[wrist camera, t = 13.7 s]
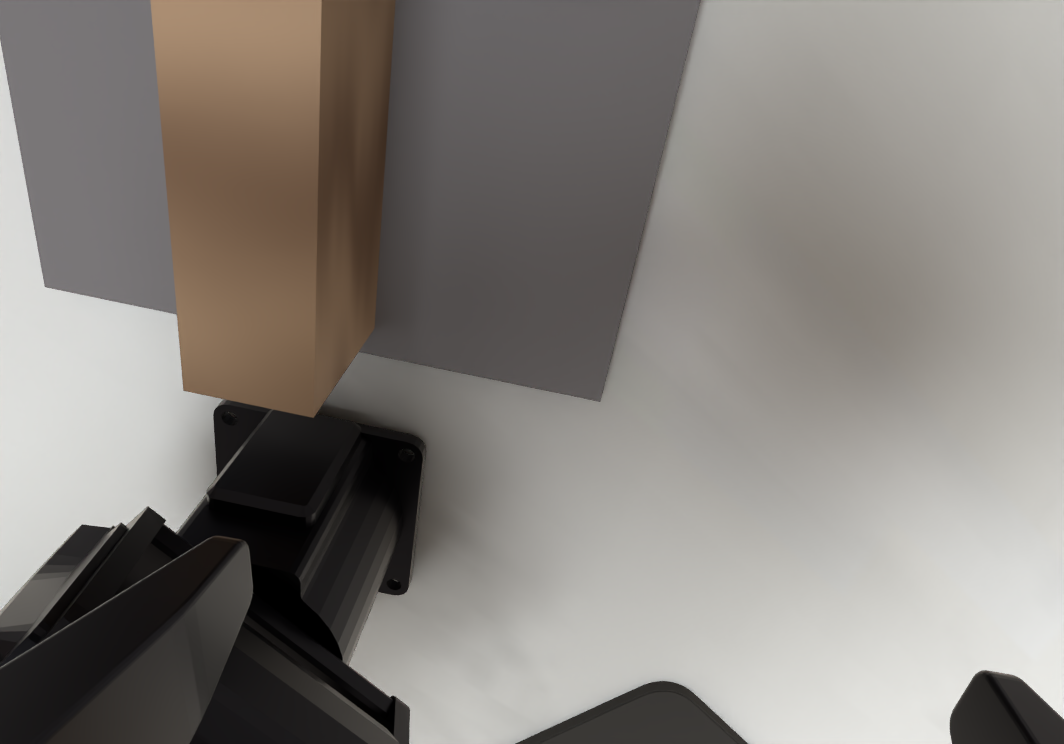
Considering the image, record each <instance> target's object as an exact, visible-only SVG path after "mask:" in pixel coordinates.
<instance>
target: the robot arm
mask: <svg viewBox="0 0 1064 744" xmlns="http://www.w3.org/2000/svg"><path fill="white" fill-rule="evenodd" d="M228 411H229V412H232V413H234V414H235V415H236V416H237V418H234V417H232V416H231V415H230V414H229V413H228ZM213 416H214V432H215V448H216V464H217V478H216V479H215V480H214V482H213V483H212V484H211V485H210V487H209V488H208V490H207V494H206V495H205V496H204V498H203V499H202V500H201V502H200V503H199V504H198V505H197V507H196V508H195V509H194V511H193V512H192V513H191V514H190V516H189V517H188V518H187V520H186V521H185V522H184V523H183V525H182V526H181V527H180V529H179V530H178V531H177V532H176V533H175V532H174V531H172V530H171V529H170V528H168V527H167V526H166V525H165V524H164V523H165V521H166V520H165V519H164V518H162V517H161V516H160V515H159V514H157V513H156V512H155V511H153V510H152V509H151V508H149V507H146V508H145V509H144V510H143V511H142V512H141V513H140V514H139V515H137V516H136V517H135V518H134V519H133V520H132V521H131V522H130V523H128V524H127V525H126V526H125V525H124V524H122V523H120V524H119V525H117V526H116V527H115V526H112V527H111V528H106V527H97V526H89V525H81V526H80V527H79V528H78V529H77V530H76V531H75V532H74V533H73V534H72V535H71V536H70V537H69V538H68V539H67V540H66V541H65V542H64V543H63V544H62V545H61V546H60V547H59V548H58V549H57V550H56V551H55V552H54V553H53V555H52V556H51V557H50V558H49V559H48V560H47V561H46V562H45V563H44V564H43V565H42V566H41V567H40V568H39V569H38V570H37V571H36V572H35V573H34V575H33V576H32V577H31V578H30V579H29V580H28V581H27V582H26V583H25V584H24V585H23V586H22V587H21V588H20V590H19V591H18V592H17V593H16V594H15V595H14V596H13V597H12V598H11V600H10V601H9V602H8V603H7V604H6V605H5V606H4V608H3V609H2V610H1V611H0V744H409V721H410V709H409V707H408V706H407V705H406V704H404V703H403V702H402V701H400V700H399V699H398V698H396V697H395V696H391V697H389V696H388V695H386V694H385V693H384V692H382V691H381V690H380V689H378V688H377V687H376V686H375V685H373V684H372V683H371V682H369V681H368V680H367V679H365V678H364V677H363V676H362V675H360V674H359V673H358V672H356V671H355V670H354V669H352V668H351V667H350V666H348V665H349V662H350V660H351V657H352V655H353V652H354V650H355V647H356V645H357V643H358V640H359V638H360V635H361V633H362V630H363V628H364V625H365V623H366V620H367V618H368V615H369V613H370V610H371V608H372V605H373V603H374V600H375V598H376V595H377V593H378V592H382V593H386V594H391V595H402V594H404V593H405V592H407V590H408V587H409V585H410V582H411V579H412V570H413V561H414V553H415V544H416V535H417V526H418V518H419V509H420V500H421V491H422V483H423V474H424V465H425V456H426V447H425V445H424V443H423V441H422V440H420V439H419V438H418V437H416V436H413V435H410V434H405V433H401V432H396V431H391V430H386V429H381V428H377V427H372V426H367V425H362V424H357V423H354V422H351V421H346V420H341V419H336V418H332V417H327V416H322V415H317V414H316V415H315V416H314V418H312V417H307V416H303V415H298V414H293V413H288V412H283V411H279V410H274V409H269V408H264V407H260V406H255V405H250V404H245V403H240V402H236V401H231V400H226V399H224V400H223V401H222V402H221V403H220V404H219V405H218V407H217V408H216V409H215V410H214V415H213ZM403 449H409V450H411V451H412V452H413V453H414V455H409V454H407V453H405V452H404V451H403ZM393 579H395V580H398V581H395V580H393ZM950 735H951V740H952V744H1064V719H1063V718H1062V717H1061V716H1060V715H1059V714H1058V713H1057V712H1056V711H1055V710H1053V709H1052V708H1051V707H1050V706H1049V705H1048V704H1047V703H1046V702H1045V701H1044V700H1043V699H1042V698H1041V697H1040V696H1039V695H1038V694H1037V693H1036V692H1035V691H1034V690H1032V689H1031V688H1030V687H1029V686H1028V685H1027V684H1026V683H1025V682H1024V681H1023V680H1021V679H1020V678H1018V677H1016V676H1014V675H1010V674H1004V673H998V672H993V671H987V670H984V671H980V672H978V673H977V674H975V676H974V677H973V678H972V680H971V682H970V683H969V685H968V687H967V688H966V690H965V691H964V693H963V695H962V696H961V698H960V700H959V701H958V703H957V704H956V706H955V708H954V709H953V711H952V714H951V718H950Z"/></svg>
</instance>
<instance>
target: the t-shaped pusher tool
mask: <svg viewBox="0 0 1064 744" xmlns="http://www.w3.org/2000/svg"><path fill="white" fill-rule="evenodd" d="M150 1H151V13H152V25H153V36H154V48H155V60H156V72H157V84H158V95H159V107H160V119H161V131H162V142H163V154H164V166H165V178H166V190H167V201H168V213H169V225H170V237H171V249H172V260H173V272H174V284H175V296H176V307H177V319H178V331H179V343H180V355H181V366H182V378H183V390H184V391H188V392H193V393H197V394H202V395H207V396H212V397H216V398H221V399H226V400H231V401H236V402H240V403H245V404H250V405H255V406H260V407H264V408H269V409H274V410H279V411H283V412H288V413H293V414H298V415H303V416H307V417H312V418H314V416H315V415H316V413H317V412H318V411H319V409H320V408H321V406H322V405H323V403H324V402H325V400H326V399H327V397H328V396H329V394H330V393H331V391H332V390H333V389H334V387H335V386H336V384H337V383H338V381H339V380H340V378H341V377H342V375H343V374H344V372H345V371H346V369H347V368H348V367H349V365H350V364H351V362H352V361H353V359H354V358H355V356H356V355H357V353H358V352H359V350H360V349H361V347H362V346H363V344H364V343H365V342H366V340H367V339H368V337H369V336H370V334H371V333H372V331H373V330H374V328H375V312H376V297H377V281H378V265H379V250H380V234H381V219H382V203H383V187H384V172H385V156H386V141H387V125H388V110H389V94H390V78H391V63H392V47H393V32H394V16H395V0H150Z"/></svg>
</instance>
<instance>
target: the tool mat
mask: <svg viewBox="0 0 1064 744" xmlns="http://www.w3.org/2000/svg"><path fill="white" fill-rule="evenodd" d="M699 4H700V0H395V16H394V32H393V47H392V63H391V78H390V94H389V110H388V125H387V141H386V156H385V172H384V187H383V203H382V219H381V234H380V250H379V265H378V281H377V297H376V312H375V328H374V330H373V331H372V333H371V334H370V336H369V337H368V339H367V340H366V342H365V343H364V344H363V346H362V347H361V349H360V350H359V352H362V353H367V354H372V355H377V356H381V357H386V358H391V359H396V360H401V361H406V362H410V363H415V364H420V365H425V366H430V367H435V368H439V369H444V370H449V371H454V372H459V373H464V374H468V375H473V376H478V377H483V378H488V379H493V380H498V381H502V382H507V383H512V384H517V385H522V386H527V387H531V388H536V389H541V390H546V391H551V392H556V393H560V394H565V395H570V396H575V397H580V398H585V399H589V400H594V401H599V402H600V401H601V397H602V393H603V389H604V385H605V381H606V377H607V373H608V369H609V365H610V361H611V357H612V353H613V349H614V345H615V341H616V337H617V333H618V328H619V324H620V320H621V316H622V312H623V308H624V304H625V300H626V296H627V292H628V288H629V284H630V280H631V276H632V272H633V268H634V264H635V260H636V256H637V252H638V248H639V244H640V240H641V236H642V232H643V228H644V224H645V220H646V216H647V212H648V208H649V204H650V200H651V196H652V192H653V188H654V184H655V180H656V176H657V172H658V168H659V164H660V160H661V156H662V152H663V148H664V144H665V140H666V136H667V132H668V128H669V124H670V120H671V116H672V112H673V108H674V104H675V100H676V96H677V92H678V88H679V84H680V80H681V76H682V72H683V68H684V64H685V60H686V56H687V52H688V48H689V44H690V40H691V36H692V32H693V28H694V24H695V20H696V16H697V12H698V8H699ZM0 40H1V46H2V52H3V57H4V63H5V68H6V74H7V79H8V85H9V90H10V96H11V101H12V107H13V113H14V118H15V124H16V129H17V135H18V140H19V146H20V151H21V157H22V162H23V168H24V174H25V179H26V185H27V190H28V196H29V201H30V207H31V212H32V218H33V223H34V229H35V235H36V240H37V246H38V251H39V257H40V262H41V268H42V273H43V279H44V284H45V287H47V288H52V289H57V290H62V291H67V292H72V293H76V294H81V295H86V296H91V297H96V298H101V299H105V300H110V301H115V302H120V303H125V304H130V305H135V306H139V307H144V308H149V309H154V310H159V311H164V312H168V313H173V314H177V307H176V296H175V284H174V272H173V260H172V249H171V237H170V225H169V213H168V201H167V190H166V178H165V166H164V154H163V142H162V131H161V119H160V107H159V95H158V84H157V72H156V60H155V48H154V36H153V25H152V13H151V1H150V0H0Z"/></svg>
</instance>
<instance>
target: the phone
mask: <svg viewBox="0 0 1064 744" xmlns="http://www.w3.org/2000/svg"><path fill="white" fill-rule="evenodd" d="M516 744H747V743H746V742H745V741H744V740H743V739H742V738H741V737H740V736H739V735H738V734H737V733H736V732H735V731H734V730H732V729H731V728H730V727H729V726H728V725H727V724H726V723H725V722H724V721H723V720H722V719H721V718H720V717H719V716H717V715H716V714H715V713H714V712H713V711H712V710H711V709H710V708H709V707H708V706H707V705H706V704H705V703H703V702H702V701H701V700H700V699H699V698H698V697H697V696H696V695H695V694H694V693H692V692H691V691H690V690H689V689H687V688H685V687H684V686H682V685H679V684H677V683H673V682H667V681H659V682H653V683H649V684H646V685H643V686H641V687H638V688H636V689H634V690H632V691H629V692H627V693H625V694H623V695H621V696H619V697H616V698H614V699H612V700H610V701H608V702H605V703H603V704H601V705H599V706H597V707H595V708H592V709H590V710H588V711H586V712H584V713H581V714H579V715H577V716H575V717H573V718H571V719H568V720H566V721H564V722H562V723H560V724H558V725H555V726H553V727H551V728H549V729H547V730H544V731H542V732H540V733H538V734H536V735H534V736H531V737H529V738H527V739H525V740H523V741H520V742H518V743H516Z"/></svg>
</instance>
